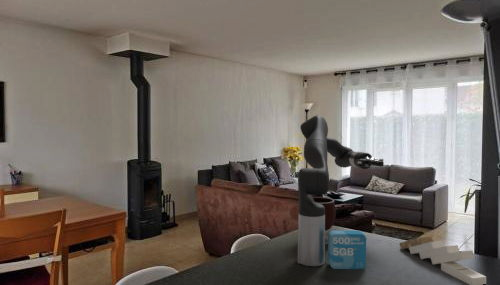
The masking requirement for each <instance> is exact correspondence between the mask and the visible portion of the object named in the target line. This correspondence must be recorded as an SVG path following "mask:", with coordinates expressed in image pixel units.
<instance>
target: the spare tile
mask: <svg viewBox="0 0 500 285" xmlns="http://www.w3.org/2000/svg"><path fill="white" fill-rule="evenodd" d="M428 242H434V240H433V236H419V237H416V238H413V239H409V240H406V241H405V240H404V241H402V242H399V247H400V250H407V249H408V250H409V247H413V246H417V245H421V244H424V243H428Z"/></svg>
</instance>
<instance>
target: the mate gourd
mask: <svg viewBox="0 0 500 285" xmlns="http://www.w3.org/2000/svg"><path fill="white" fill-rule="evenodd" d="M307 196H308V198H309V199H311V200H312V201H314V202H316V203H319V204H321V205H323V206H324V207H325V232H326V231H329V230H330V229H332V227H333V226H334V224H335V221H336V216H337V214H336V211H337V210H336V204H335V199H333V198H331V197H322V196H313V195H307ZM326 245H327V246H328V235H326V234H325V246H326Z"/></svg>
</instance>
